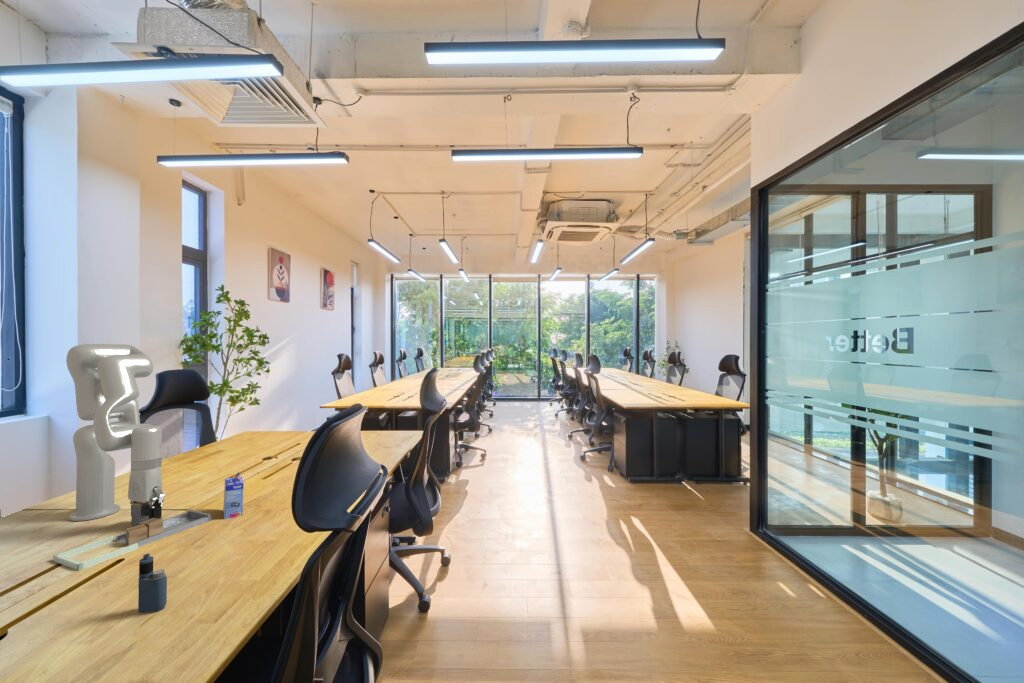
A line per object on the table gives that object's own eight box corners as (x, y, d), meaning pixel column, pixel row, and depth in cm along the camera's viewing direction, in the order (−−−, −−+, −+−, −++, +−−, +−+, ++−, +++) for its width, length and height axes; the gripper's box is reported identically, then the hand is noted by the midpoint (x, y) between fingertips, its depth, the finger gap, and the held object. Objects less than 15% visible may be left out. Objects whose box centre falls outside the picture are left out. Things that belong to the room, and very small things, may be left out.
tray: (53, 564, 109) (53, 555, 109) (112, 544, 121) (112, 535, 121) (78, 574, 104) (78, 564, 105) (137, 552, 116) (137, 543, 116)
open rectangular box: (115, 544, 121) (115, 534, 121) (190, 518, 139) (190, 509, 139) (137, 550, 117) (137, 540, 117) (210, 523, 135) (211, 514, 135)
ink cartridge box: (243, 518, 139) (244, 475, 140) (223, 522, 136) (224, 479, 136) (241, 509, 147) (242, 469, 147) (223, 513, 144) (223, 472, 144)
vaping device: (144, 606, 91) (145, 552, 92) (169, 604, 92) (170, 551, 92) (134, 613, 89) (135, 558, 89) (160, 612, 89) (161, 556, 89)
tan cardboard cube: (138, 536, 124) (138, 523, 124) (152, 530, 127) (152, 517, 128) (148, 537, 123) (149, 524, 123) (162, 531, 127) (163, 518, 127)
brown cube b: (125, 542, 120) (126, 528, 120) (143, 537, 123) (144, 524, 123) (129, 546, 117) (129, 532, 117) (147, 541, 121) (147, 527, 121)
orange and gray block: (131, 529, 131) (131, 503, 131) (150, 523, 135) (150, 497, 136) (140, 532, 129) (140, 505, 129) (159, 525, 133) (159, 499, 134)
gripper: (117, 465, 132) (116, 518, 132) (148, 470, 126) (148, 526, 125) (144, 459, 139) (144, 510, 139) (176, 463, 133) (175, 516, 132)
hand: (146, 517), depth 132 cm, fingers open, 9 cm apart
